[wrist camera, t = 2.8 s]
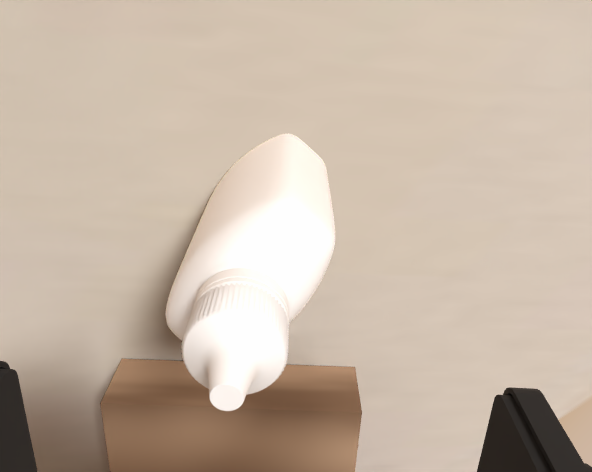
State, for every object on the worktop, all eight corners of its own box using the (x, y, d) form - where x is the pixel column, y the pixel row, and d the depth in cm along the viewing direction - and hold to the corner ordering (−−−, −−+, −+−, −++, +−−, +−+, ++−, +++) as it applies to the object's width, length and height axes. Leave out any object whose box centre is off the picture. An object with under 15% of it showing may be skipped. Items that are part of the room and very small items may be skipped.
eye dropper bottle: (344, 221, 22) (389, 442, 11) (218, 259, 23) (145, 501, 12) (312, 121, 20) (328, 267, 9) (177, 165, 21) (48, 349, 10)
